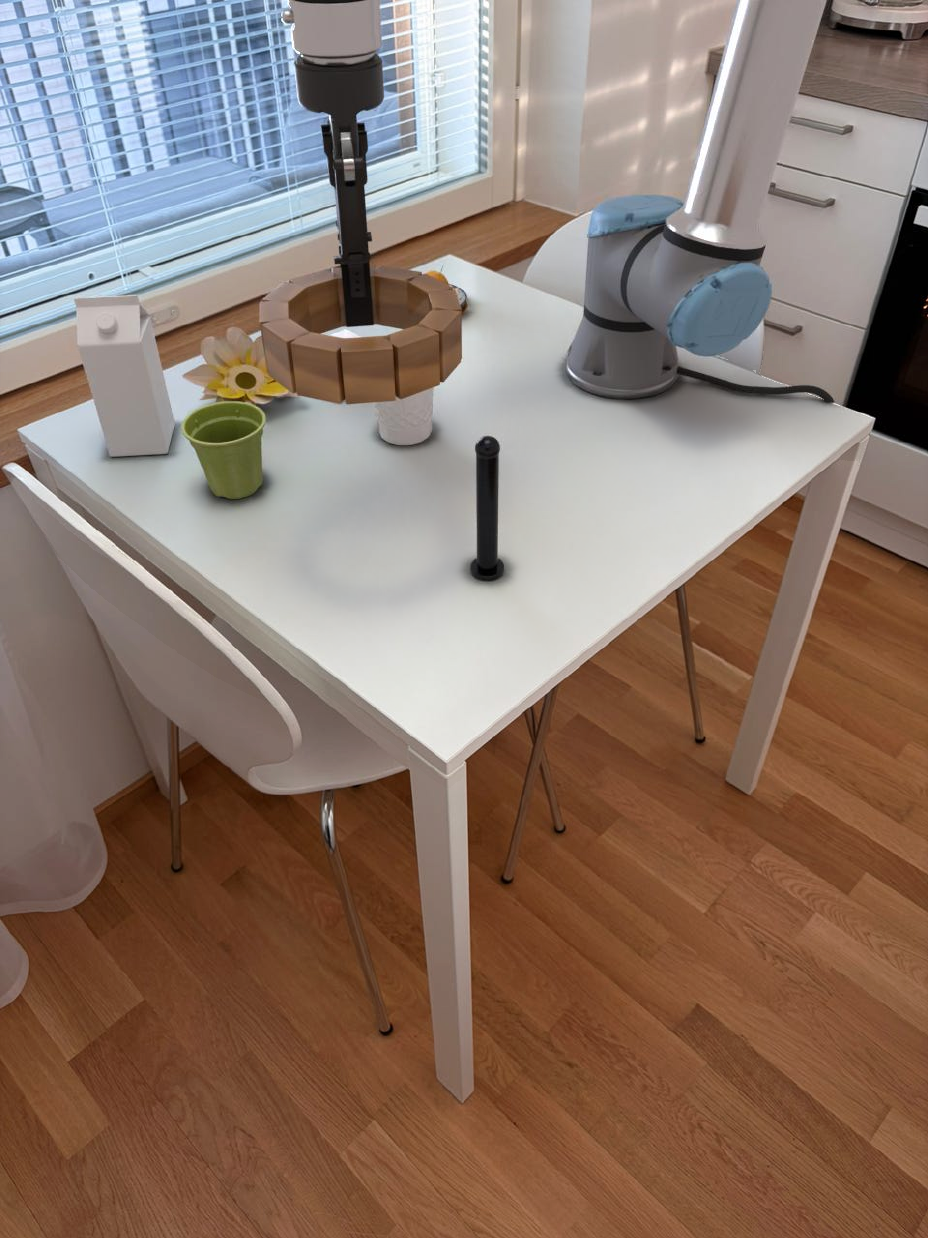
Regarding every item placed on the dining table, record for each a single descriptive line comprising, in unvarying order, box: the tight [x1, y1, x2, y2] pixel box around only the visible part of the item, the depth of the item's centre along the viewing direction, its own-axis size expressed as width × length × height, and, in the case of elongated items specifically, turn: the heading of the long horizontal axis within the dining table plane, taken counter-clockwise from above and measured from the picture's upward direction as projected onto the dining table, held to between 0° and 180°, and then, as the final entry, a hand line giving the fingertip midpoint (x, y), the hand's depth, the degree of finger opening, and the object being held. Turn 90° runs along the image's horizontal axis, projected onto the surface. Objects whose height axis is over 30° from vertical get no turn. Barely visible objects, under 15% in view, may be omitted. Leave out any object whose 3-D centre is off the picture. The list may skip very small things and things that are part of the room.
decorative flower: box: [181, 325, 300, 406], centre depth 128 cm, size 15×11×10 cm
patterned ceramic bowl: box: [425, 265, 468, 315], centre depth 151 cm, size 12×12×8 cm
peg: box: [469, 435, 505, 582], centre depth 100 cm, size 4×4×16 cm
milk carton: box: [73, 294, 176, 457], centre depth 119 cm, size 7×7×19 cm
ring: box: [259, 265, 463, 405], centre depth 92 cm, size 18×18×5 cm
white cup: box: [373, 387, 435, 446], centre depth 123 cm, size 8×8×10 cm
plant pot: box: [180, 401, 267, 500], centre depth 115 cm, size 9×9×9 cm
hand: (358, 316), depth 100 cm, fingers closed on ring, 3 cm apart
